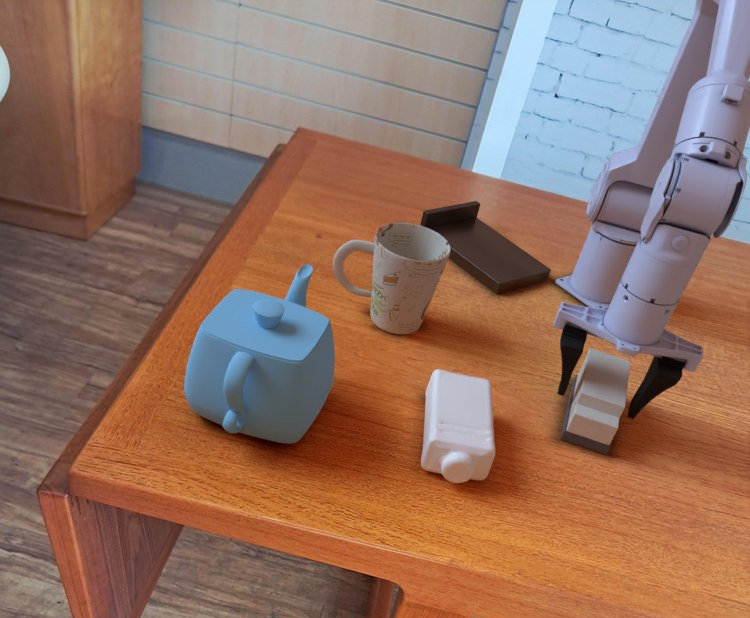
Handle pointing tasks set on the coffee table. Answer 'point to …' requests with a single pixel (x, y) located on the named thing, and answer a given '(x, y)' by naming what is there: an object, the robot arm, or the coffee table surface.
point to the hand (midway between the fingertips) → (596, 401)
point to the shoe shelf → (483, 248)
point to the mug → (398, 273)
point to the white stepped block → (596, 401)
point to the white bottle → (458, 427)
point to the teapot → (262, 363)
